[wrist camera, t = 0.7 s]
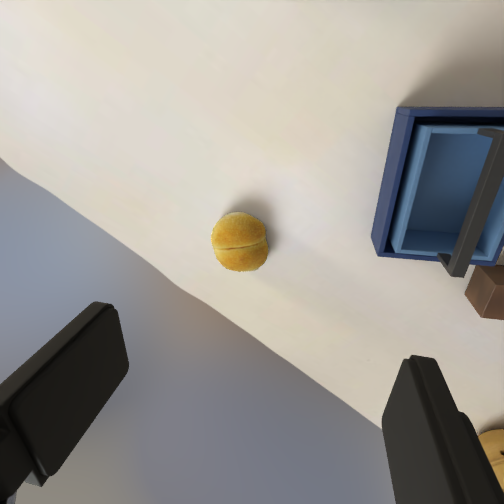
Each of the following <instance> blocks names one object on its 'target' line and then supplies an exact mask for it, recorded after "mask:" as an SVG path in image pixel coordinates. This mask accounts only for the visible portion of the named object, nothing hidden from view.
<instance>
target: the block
mask: <svg viewBox="0 0 504 504" xmlns="http://www.w3.org/2000/svg"><path fill="white" fill-rule="evenodd" d="M465 296H466V297H467V299H468V300H469V301H470V303H471V304H472V306H473V307H474V308H475V310H476V311H477V313H478V314H479V315H480V317H481V318H489V319H498V320H504V266H500V265H495V266H482V265H476V267H475V270H474V272H473V274H472V277H471V279H470V282H469V284H468V287H467V289H466V292H465Z"/></svg>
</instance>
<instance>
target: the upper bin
mask: <svg viewBox="0 0 504 504" xmlns="http://www.w3.org/2000/svg"><path fill="white" fill-rule="evenodd" d="M503 234H504V122H428V121H414V123H413V128H412V132H411V136H410V141H409V145H408V149H407V154H406V158H405V162H404V167H403V171H402V175H401V180H400V184H399V188H398V193H397V197H396V201H395V206H394V210H393V214H392V219H391V223H390V227H389V232H388V238H389V240H390V242H391V244H392V246H393V249H394V251H395V253H403V254H415V255H426V256H437V258H438V259H439V261H440V262H441V263H442V265H443V266H444V268H445V269H446V270H447V272H448V273H449V275H450V276H452V277H462V278H464V276H465V274H466V271H467V269H468V266H469V264H470V261H471V259H474V260H485V261H486V260H487V261H492V259H493V257H494V255H495V252H496V250H497V248H498V245H499V243H500V241H501V238H502V236H503Z"/></svg>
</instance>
